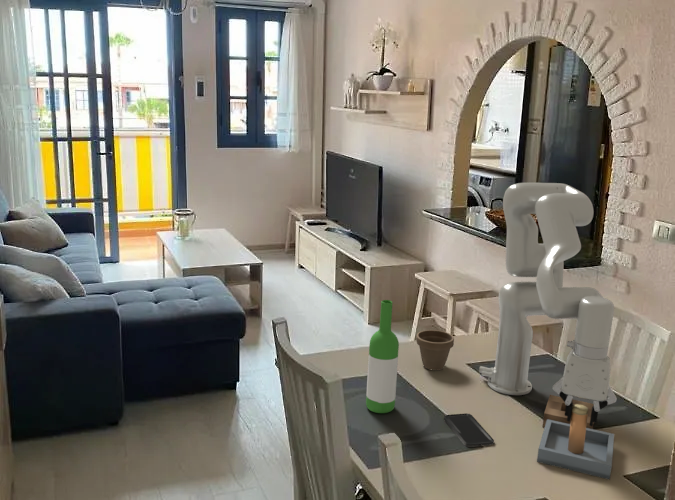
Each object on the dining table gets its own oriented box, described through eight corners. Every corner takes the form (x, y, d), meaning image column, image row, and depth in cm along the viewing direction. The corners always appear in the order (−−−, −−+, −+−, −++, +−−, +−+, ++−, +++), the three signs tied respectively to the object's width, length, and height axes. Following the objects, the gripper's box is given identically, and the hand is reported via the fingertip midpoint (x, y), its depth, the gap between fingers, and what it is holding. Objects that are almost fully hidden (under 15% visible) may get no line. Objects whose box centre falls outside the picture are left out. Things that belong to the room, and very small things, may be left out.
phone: (470, 413, 182) (495, 441, 168) (469, 416, 183) (495, 445, 168) (442, 415, 180) (465, 444, 166) (441, 419, 181) (465, 448, 167)
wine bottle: (373, 398, 189) (379, 294, 182) (399, 406, 186) (406, 300, 179) (360, 409, 183) (366, 302, 176) (387, 417, 179) (394, 308, 172)
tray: (536, 461, 161) (538, 448, 161) (545, 431, 176) (547, 419, 175) (609, 479, 155) (611, 465, 155) (612, 446, 170) (614, 433, 169)
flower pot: (406, 363, 214) (408, 333, 212) (432, 356, 221) (435, 326, 218) (432, 377, 205) (435, 345, 203) (459, 369, 212) (462, 338, 209)
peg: (567, 451, 164) (571, 409, 162) (568, 445, 168) (572, 403, 165) (583, 455, 163) (587, 412, 161) (584, 448, 166) (588, 406, 164)
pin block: (542, 427, 178) (544, 413, 177) (548, 408, 189) (549, 394, 188) (591, 438, 173) (593, 423, 172) (594, 418, 184) (596, 404, 183)
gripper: (550, 348, 159) (541, 420, 163) (629, 362, 153) (617, 437, 157) (554, 337, 166) (545, 407, 170) (629, 351, 159) (618, 422, 164)
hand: (580, 420), depth 163 cm, fingers open, 4 cm apart
